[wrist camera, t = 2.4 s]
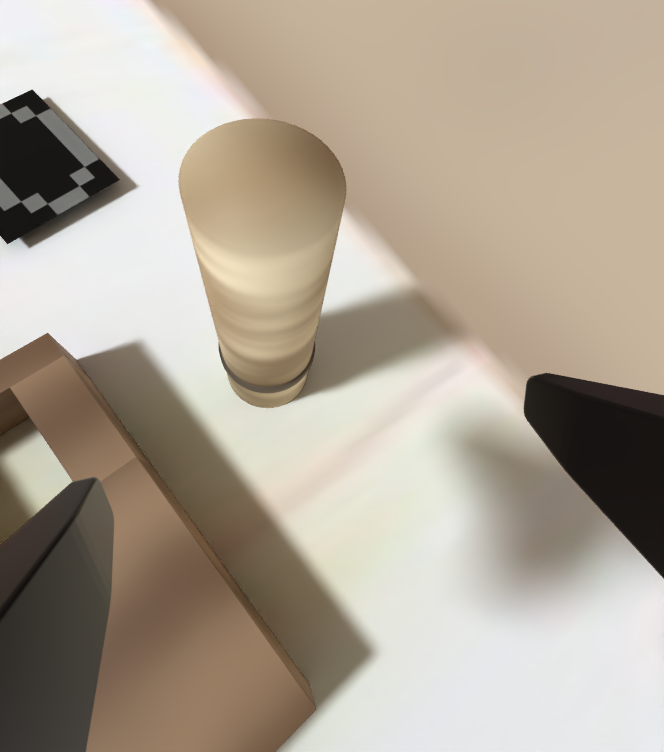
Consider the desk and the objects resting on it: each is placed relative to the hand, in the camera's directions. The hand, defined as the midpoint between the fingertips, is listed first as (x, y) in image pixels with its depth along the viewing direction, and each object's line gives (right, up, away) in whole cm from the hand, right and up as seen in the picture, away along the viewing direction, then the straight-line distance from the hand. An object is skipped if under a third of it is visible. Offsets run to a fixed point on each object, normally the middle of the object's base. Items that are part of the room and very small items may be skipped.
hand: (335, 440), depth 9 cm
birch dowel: (-3, +2, +14) cm, 14 cm away
